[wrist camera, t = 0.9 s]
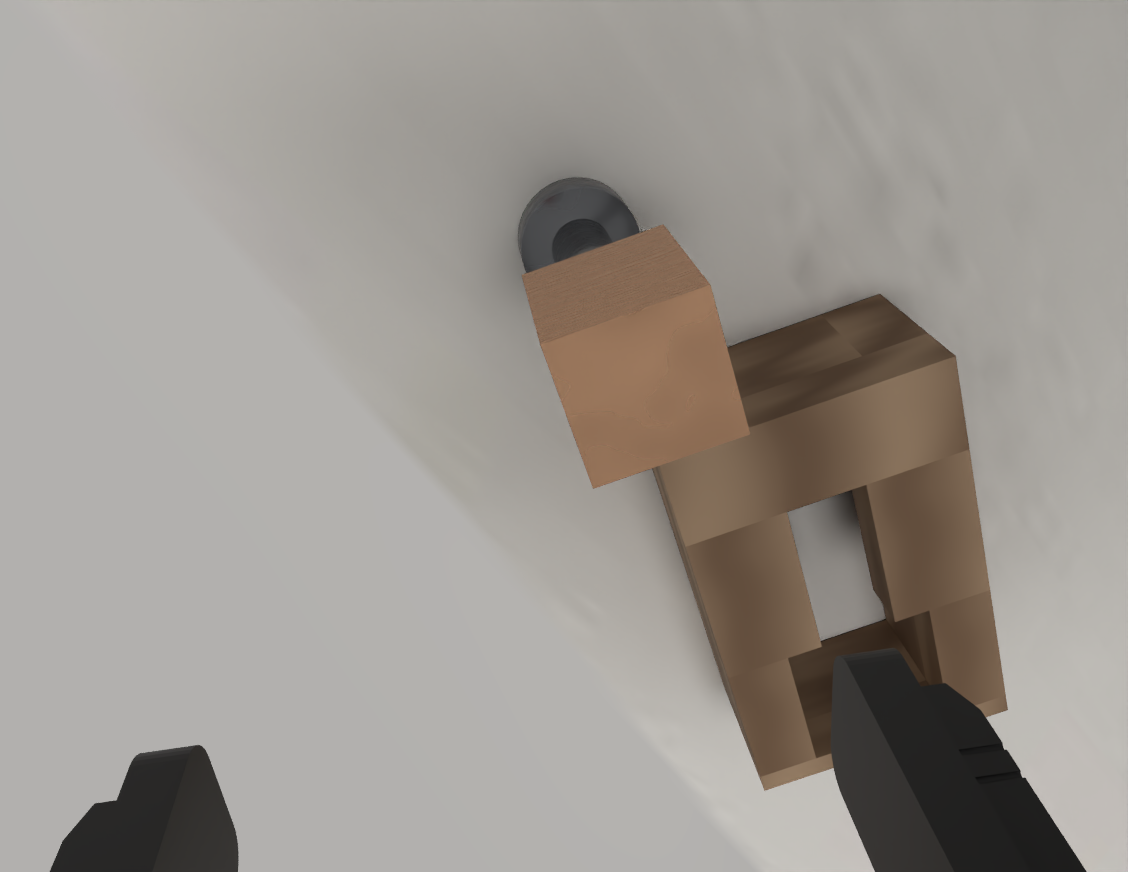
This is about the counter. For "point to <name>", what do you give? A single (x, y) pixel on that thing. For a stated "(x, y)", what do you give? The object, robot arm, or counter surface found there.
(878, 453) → the keyhole block
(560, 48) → the counter surface
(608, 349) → the brown square-topped part
